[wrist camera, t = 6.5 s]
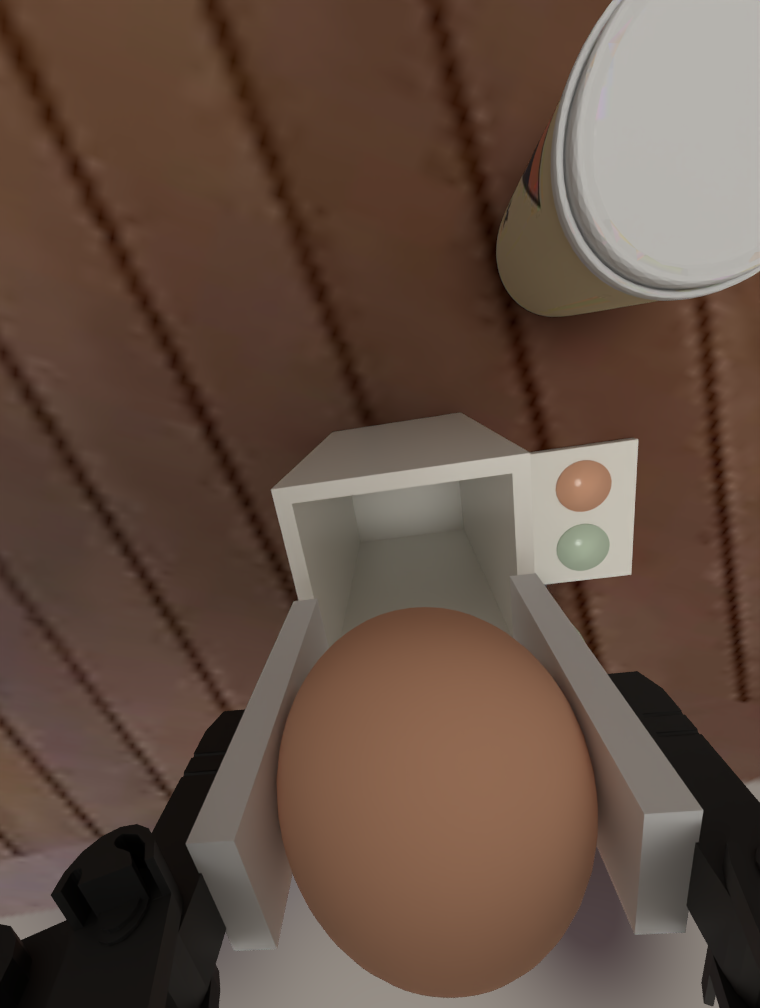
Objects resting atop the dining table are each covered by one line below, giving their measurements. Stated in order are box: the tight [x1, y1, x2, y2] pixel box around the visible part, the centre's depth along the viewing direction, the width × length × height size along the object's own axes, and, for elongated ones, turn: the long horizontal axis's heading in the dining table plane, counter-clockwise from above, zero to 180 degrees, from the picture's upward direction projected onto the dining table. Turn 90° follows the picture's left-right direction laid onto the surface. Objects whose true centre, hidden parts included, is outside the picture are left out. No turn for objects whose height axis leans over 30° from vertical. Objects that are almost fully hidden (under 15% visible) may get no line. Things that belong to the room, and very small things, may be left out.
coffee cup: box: [496, 0, 760, 317], centre depth 17 cm, size 9×9×12 cm
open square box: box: [271, 413, 534, 648], centre depth 21 cm, size 9×9×14 cm
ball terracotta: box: [276, 607, 598, 998], centre depth 8 cm, size 6×6×6 cm
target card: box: [530, 438, 638, 584], centre depth 27 cm, size 10×7×1 cm
